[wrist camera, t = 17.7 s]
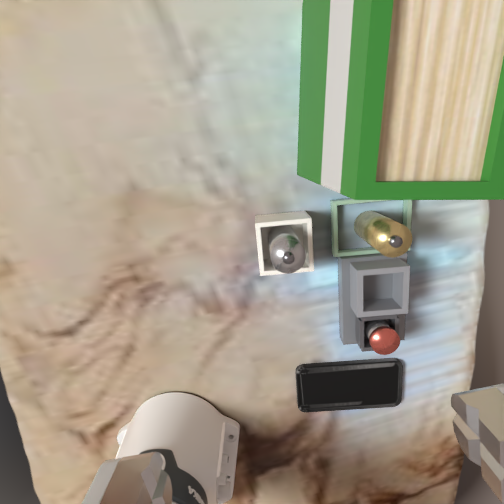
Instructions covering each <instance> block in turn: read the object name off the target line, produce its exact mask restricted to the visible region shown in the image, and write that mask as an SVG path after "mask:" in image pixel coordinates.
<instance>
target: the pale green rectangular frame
mask: <svg viewBox="0 0 504 504" xmlns="http://www.w3.org/2000/svg"><path fill="white" fill-rule="evenodd" d="M330 201H331V233H332V255H333V256H334V257H342V256H353V255H364V254H375V253H380V252H379V251H377V250H376V249H375V248H373V247H367V248H356V249H345V250H338V225H337V205H345V204H355V203H366V202H376V201H386V200H354V199H352V198H348V199H338V200H330ZM411 217H412V200H403V225H405V226H406V227H407V228H408V229H409V230H410V231H411ZM408 250H410V248H409V249H408Z"/></svg>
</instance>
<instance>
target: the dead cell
mask: <svg viewBox="0 0 504 504" xmlns="http://www.w3.org/2000/svg"><path fill="white" fill-rule="evenodd" d="M268 244H269V251H270V258H271V263H272V265H273V266H274V268H275V269H276V270H278V271H280V272H282V273H294V272H296V271H298V270H299V269H300V268H301V267H302V266H303V264H304V262H305V259H306V253H305V250H304V248H303V246H302V244H301V242H300V240H299V238H298V236H297V234H296V233H295V231H294V229H293V228H292V227H290V226H289V225H280V226H274V227H273V228H272V229H271V230H270V232H269V234H268Z"/></svg>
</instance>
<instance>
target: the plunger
mask: <svg viewBox="0 0 504 504" xmlns="http://www.w3.org/2000/svg"><path fill="white" fill-rule="evenodd" d="M364 332H365V334H366V336H367V337H368V339H369V343H370V345H371V347H372V349H373V350H374V351H375V352H376V353H378V354H382V355H386V354H390V353H392V352H394V351H395V350H396V349H397V348H398V346H399V344H400V337H399V335H398V334H397V333H396V331H395V330H394V329H393V328H391V327H390V326H389V325H388V324H387V323H386V321H385V320H371V321H368V322H367V323H366V324H365V326H364Z"/></svg>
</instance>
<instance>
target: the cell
mask: <svg viewBox="0 0 504 504" xmlns="http://www.w3.org/2000/svg"><path fill="white" fill-rule="evenodd" d="M354 230H355V232H356V234H357V235H358V236H359V237H361V238H362V239H363V240H364V241H366V242H367V243H368V244H370V245H371V246H372V247H373V248H375V249H376V250H377V251H379V252H380V253H381V254H383V255H384V256H386V257H391V258H394V257H399V256H401V255H403V254H404V253H406V252H407V251H408V249H409V248H410V246H411V243H412V234H411V231H410V230H409V229H408V228H407V227H406V226H405V225H403V224H401V223H398V222H396V221H394V220H392V219H390V218H388V217H385V216H383V215H381V214H379V213H377V212H374V211H365V212H363V213H361V214H360V215H359V216H358V217H357V218H356V220H355V222H354Z"/></svg>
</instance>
